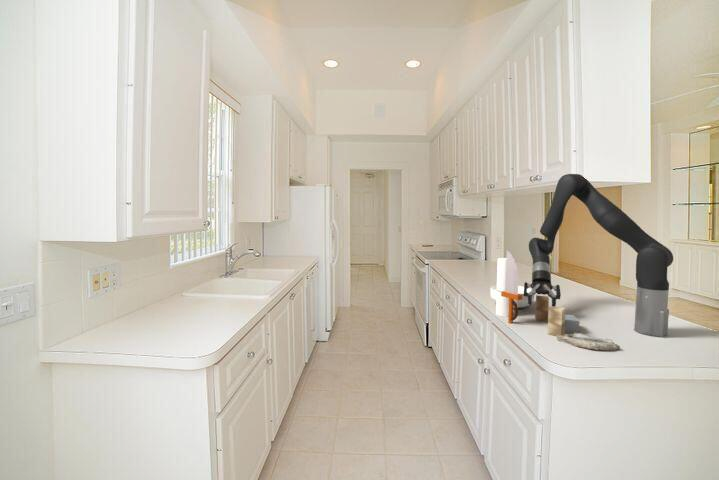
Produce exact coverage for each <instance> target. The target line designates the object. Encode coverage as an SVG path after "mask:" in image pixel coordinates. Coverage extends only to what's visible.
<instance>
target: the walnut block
mask: <svg viewBox="0 0 719 480" xmlns="http://www.w3.org/2000/svg"><path fill="white" fill-rule="evenodd" d="M549 298H550V297H549V296H548V295H547V296H546V295H538V294H537V295H536V294H535V311H534V312H535V315H534V317H535V318H534V319H535V321H536V322H540V323H548V313H549V303H550V300H549Z"/></svg>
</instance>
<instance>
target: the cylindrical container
mask: <svg viewBox="0 0 719 480" xmlns="http://www.w3.org/2000/svg"><path fill="white" fill-rule="evenodd" d="M513 259H514V261H515V262H516V259H515V258H513ZM496 265H497V270H496V285H497V293H496V302H495V315H496V316H498V317H506V318H508V315H509V298H507V297H503V296H501V292H502V291H505V276H506V257H499V258H497V264H496Z"/></svg>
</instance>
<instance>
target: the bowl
mask: <svg viewBox="0 0 719 480" xmlns="http://www.w3.org/2000/svg"><path fill="white" fill-rule="evenodd" d="M531 290H532V288H531V287H529V288H528V289H527V293H529V292H530V291H531ZM496 293H497V284H495V285H492V286H491V287H490V298H491V299H492V300H493V302H494V303H496ZM518 294H520V295H522V300H515V299H514V301H515V302H516V304H517V307H518V309H523V308H526V307H528V306H529V305H530V304H528V297H527V296H524V295H523V294H524V285H523V286H521V285H518ZM534 300H535V295H533V296H532V302H534ZM530 306H531V305H530ZM513 309H515V307H514V305H513Z"/></svg>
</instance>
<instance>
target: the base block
mask: <svg viewBox="0 0 719 480" xmlns="http://www.w3.org/2000/svg"><path fill="white" fill-rule="evenodd" d="M564 333H567V334H574V333H580V320H579V319H578V318H577V317H576V316H575V315H574V314H565V330H564Z"/></svg>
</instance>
